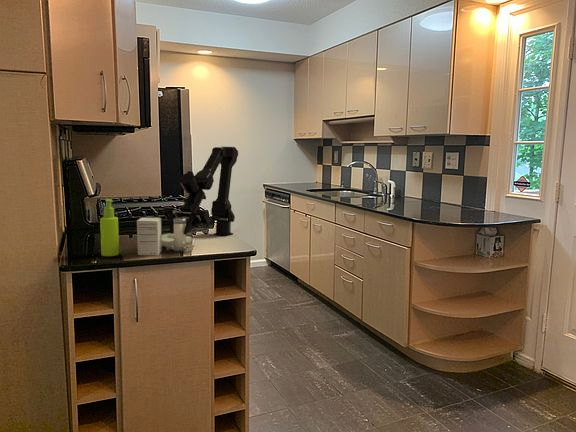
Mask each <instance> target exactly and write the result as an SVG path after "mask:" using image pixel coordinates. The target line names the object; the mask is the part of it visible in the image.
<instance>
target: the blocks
mask: <svg viewBox="0 0 576 432" xmlns="http://www.w3.org/2000/svg"><path fill="white" fill-rule="evenodd" d="M195 246H196V245H193V244H186V249H184V251H183V252H184V253H189V252H191V251H193V250H194V247H195ZM171 250H174V245H172V246H169V247H166V251H171Z"/></svg>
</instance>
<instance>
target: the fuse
mask: <svg viewBox="0 0 576 432" xmlns="http://www.w3.org/2000/svg"><path fill="white" fill-rule="evenodd" d="M173 223H174V231H173V234H174V249H173V251H174V252H184V249H186V248H187V247H186V245H187V243H186V236H187V234H186V235H184V230H185V227H186V224H187V223H186V218H182V217H179V218H174V219H173Z"/></svg>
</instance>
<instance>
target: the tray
mask: <svg viewBox="0 0 576 432" xmlns="http://www.w3.org/2000/svg"><path fill="white" fill-rule="evenodd" d="M161 237H162V247H166V248H167V247H169V246H172V245H174V233H165V234H161ZM192 239H193V237H192V236H187V235H186V244H189V243H192Z"/></svg>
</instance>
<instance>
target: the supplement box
mask: <svg viewBox="0 0 576 432" xmlns="http://www.w3.org/2000/svg"><path fill="white" fill-rule="evenodd" d="M161 235H162V217H140V218H138V219H137V220H136V236H137V242H136V243H137V256H159V255H160V253H161V252H162V251H163V249H162V247H163V246H162V237H161Z"/></svg>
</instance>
